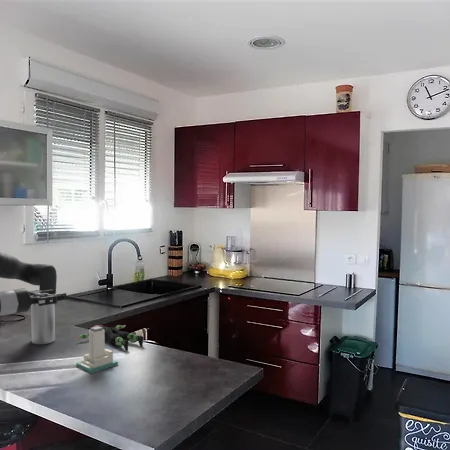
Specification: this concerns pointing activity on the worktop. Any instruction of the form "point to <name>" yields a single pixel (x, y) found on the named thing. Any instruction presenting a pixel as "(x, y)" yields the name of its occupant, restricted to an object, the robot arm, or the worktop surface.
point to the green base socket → (98, 362)
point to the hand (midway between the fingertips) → (59, 294)
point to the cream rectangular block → (96, 343)
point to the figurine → (118, 336)
